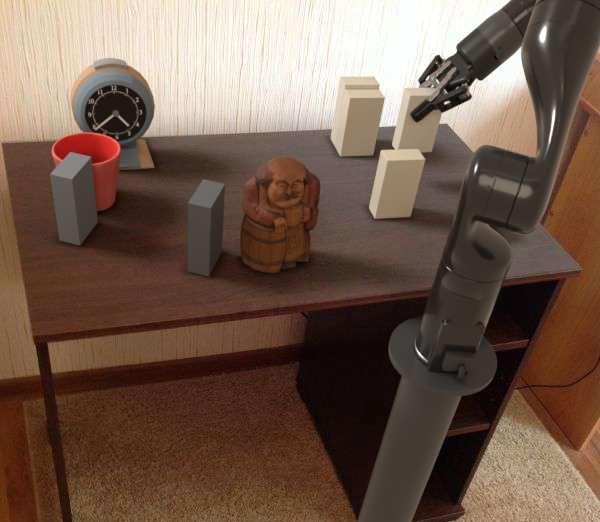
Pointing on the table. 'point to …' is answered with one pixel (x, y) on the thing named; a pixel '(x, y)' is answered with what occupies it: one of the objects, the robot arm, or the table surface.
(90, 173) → the pair of grey blocks
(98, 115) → the alarm clock
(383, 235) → the table surface
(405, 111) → the beige block
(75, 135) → the flower pot
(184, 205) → the table surface
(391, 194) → the cream books
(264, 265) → the wooden figurine
